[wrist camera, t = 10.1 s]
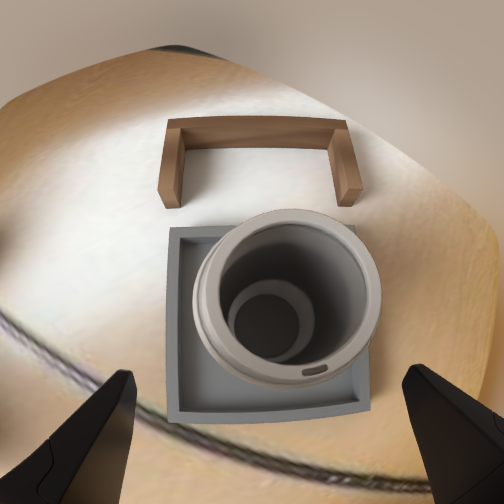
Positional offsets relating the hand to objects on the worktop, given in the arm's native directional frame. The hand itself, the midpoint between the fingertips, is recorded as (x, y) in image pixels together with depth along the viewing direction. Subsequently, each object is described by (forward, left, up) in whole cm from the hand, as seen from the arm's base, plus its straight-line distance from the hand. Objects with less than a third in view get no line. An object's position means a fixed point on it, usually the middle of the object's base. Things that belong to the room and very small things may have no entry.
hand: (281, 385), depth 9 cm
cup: (+2, -2, -12) cm, 13 cm away
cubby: (+12, -11, -13) cm, 21 cm away
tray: (+2, -2, -13) cm, 13 cm away
